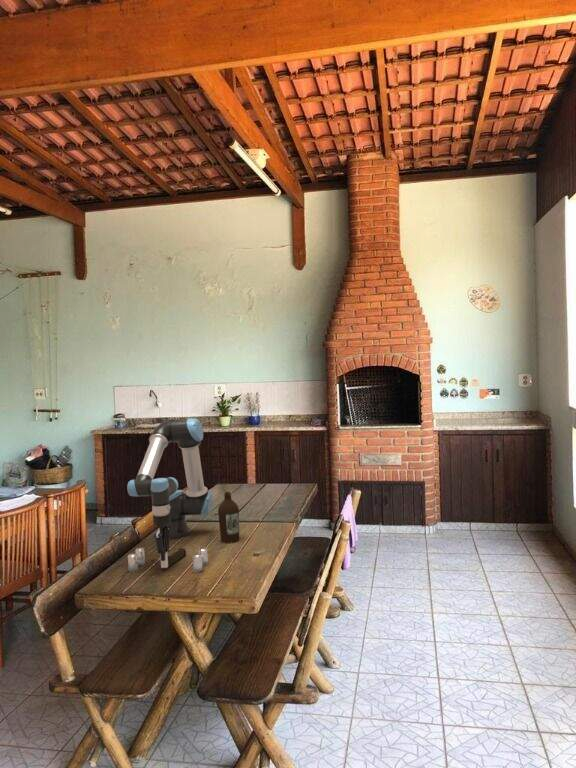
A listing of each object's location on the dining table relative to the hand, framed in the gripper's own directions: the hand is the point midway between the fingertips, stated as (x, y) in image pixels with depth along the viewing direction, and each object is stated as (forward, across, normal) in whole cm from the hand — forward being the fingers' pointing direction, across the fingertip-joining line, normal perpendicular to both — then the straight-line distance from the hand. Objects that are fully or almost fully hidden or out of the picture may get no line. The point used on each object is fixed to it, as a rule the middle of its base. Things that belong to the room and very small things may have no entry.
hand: (164, 567), depth 252 cm
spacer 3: (+2, 0, -15) cm, 15 cm away
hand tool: (+2, +10, -1) cm, 10 cm away
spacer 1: (+2, 0, +15) cm, 15 cm away
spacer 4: (+2, +8, -15) cm, 17 cm away
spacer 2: (+2, +8, +15) cm, 17 cm away
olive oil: (+2, +44, -18) cm, 47 cm away
